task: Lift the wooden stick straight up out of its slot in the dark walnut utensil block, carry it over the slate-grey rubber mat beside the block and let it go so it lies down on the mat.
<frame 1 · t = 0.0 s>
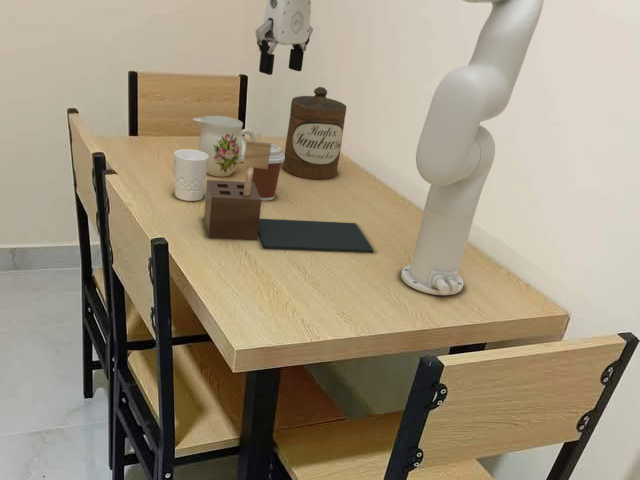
hand: (280, 71, 156), 31 cm above the table, tool pointing down, fingers open, 9 cm apart
newspaper: (227, 150, 210), on the table
coffee cup: (261, 196, 181), on the table
white cup: (188, 197, 175), on the table
mat: (311, 236, 163), on the table
wooden container: (309, 171, 203), on the table
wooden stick: (240, 233, 160), on the table, touching utensil block
pitcher: (221, 172, 193), on the table
utensil block: (230, 229, 161), on the table
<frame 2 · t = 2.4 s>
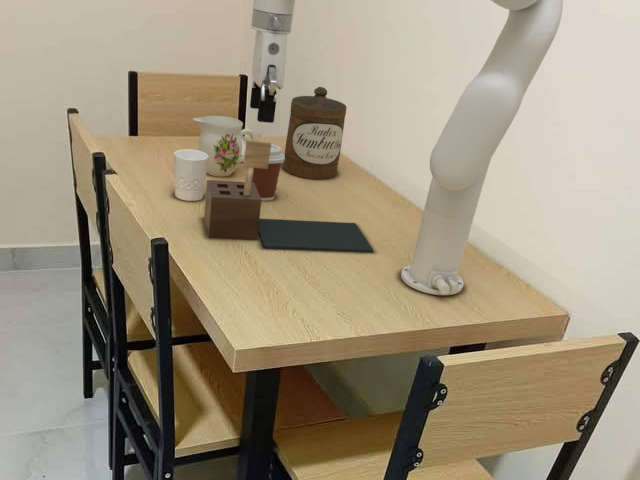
hand: (261, 114, 147), 25 cm above the table, tool pointing down, fingers open, 9 cm apart
nothing on the table moved.
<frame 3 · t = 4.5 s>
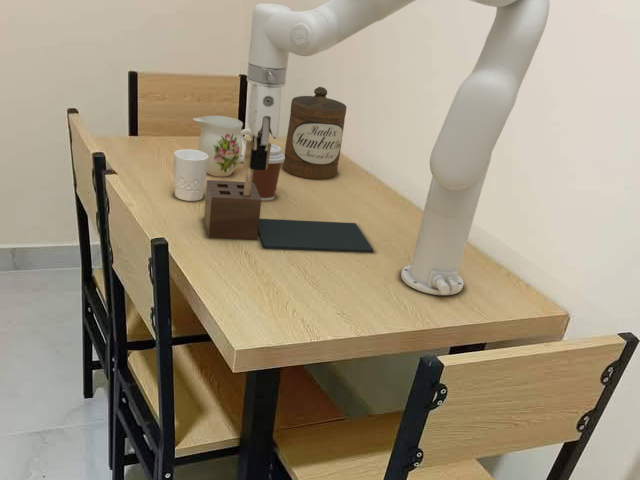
hand: (256, 167, 152), 15 cm above the table, tool pointing down, fingers closed on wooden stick, 1 cm apart
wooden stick: (240, 233, 160), on the table, touching gripper
everything else where it was.
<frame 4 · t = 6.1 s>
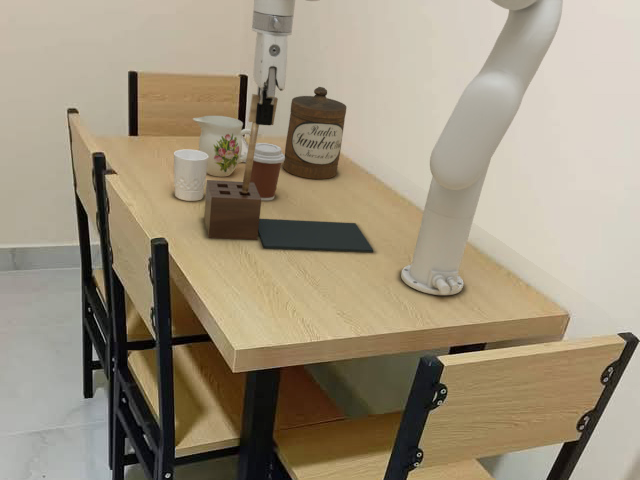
hand: (262, 122, 147), 24 cm above the table, tool pointing down, fingers closed on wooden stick, 1 cm apart
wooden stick: (244, 193, 155), point 9 cm above the table, touching gripper
everything else where it was.
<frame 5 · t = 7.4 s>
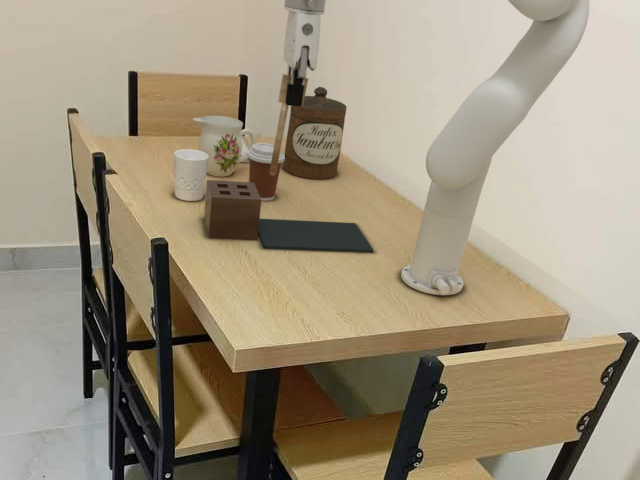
hand: (292, 103, 147), 28 cm above the table, tool pointing down, fingers closed on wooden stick, 1 cm apart
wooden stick: (272, 175, 154), point 13 cm above the table, touching gripper
everything else where it was.
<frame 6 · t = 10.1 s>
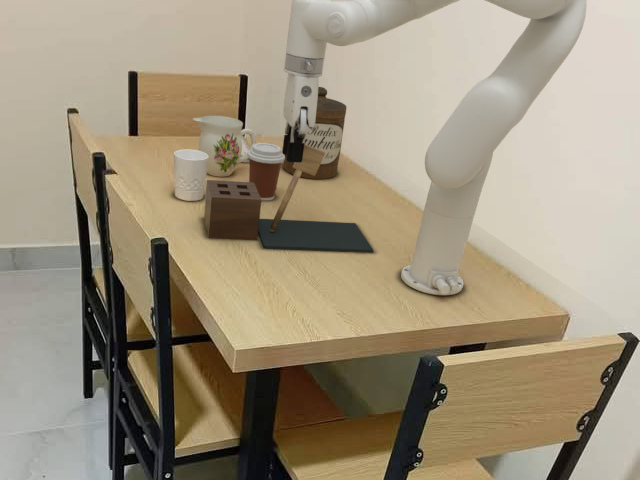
hand: (291, 157, 153), 17 cm above the table, tool pointing down, fingers open, 3 cm apart
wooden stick: (271, 232, 161), point 1 cm above the table, tilted 17°, touching mat
everything else where it was.
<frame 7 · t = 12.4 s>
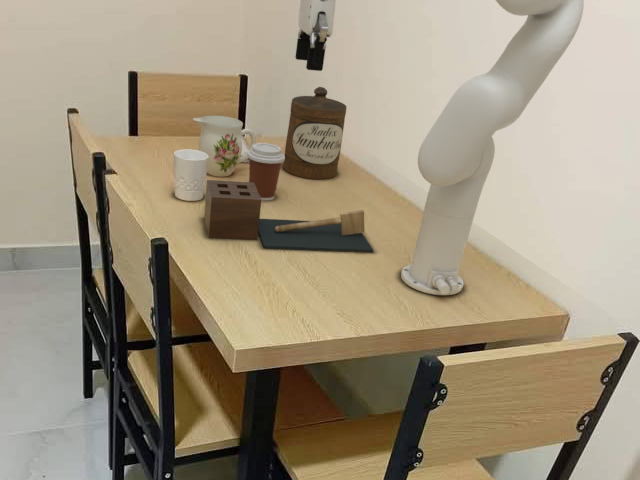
hand: (308, 64, 149), 34 cm above the table, tool pointing down, fingers open, 9 cm apart
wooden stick: (274, 229, 161), point 1 cm above the table, tilted 79°, touching mat
everything else where it was.
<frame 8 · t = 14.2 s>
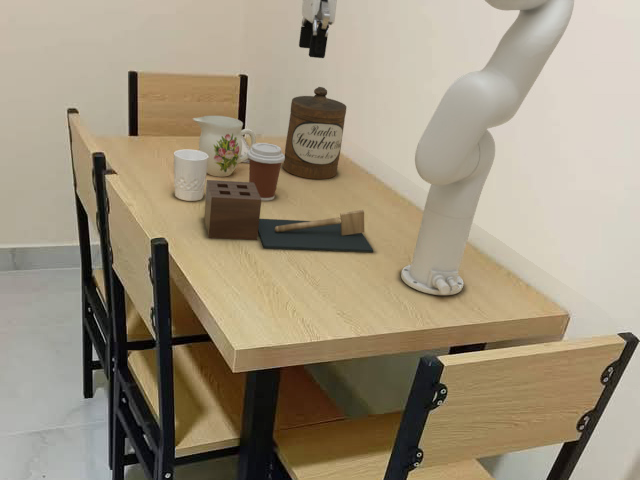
hand: (311, 52, 151), 36 cm above the table, tool pointing down, fingers open, 9 cm apart
nothing on the table moved.
at the end: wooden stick inside the target area on the mat (8.5 cm from its centre), point 1.2 cm above the mat's base; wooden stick tilted 79°; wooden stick touching mat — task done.
